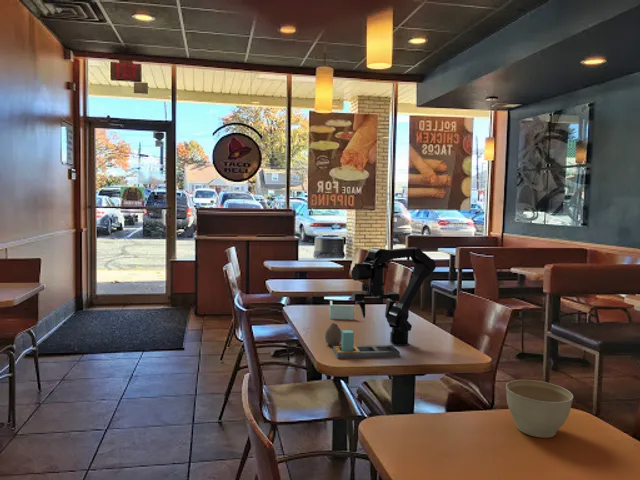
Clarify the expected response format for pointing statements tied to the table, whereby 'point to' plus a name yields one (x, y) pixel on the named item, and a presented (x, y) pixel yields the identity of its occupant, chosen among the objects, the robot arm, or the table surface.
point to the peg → (347, 340)
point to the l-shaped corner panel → (341, 311)
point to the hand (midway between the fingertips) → (375, 317)
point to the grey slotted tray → (367, 352)
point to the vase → (333, 335)
